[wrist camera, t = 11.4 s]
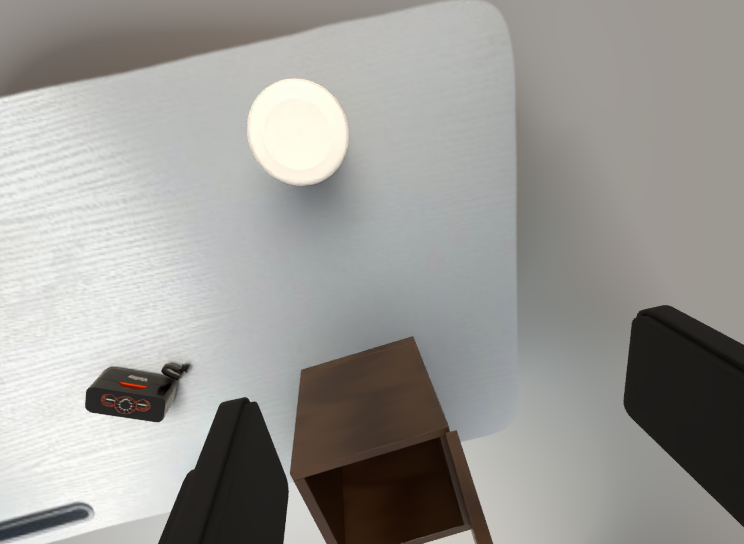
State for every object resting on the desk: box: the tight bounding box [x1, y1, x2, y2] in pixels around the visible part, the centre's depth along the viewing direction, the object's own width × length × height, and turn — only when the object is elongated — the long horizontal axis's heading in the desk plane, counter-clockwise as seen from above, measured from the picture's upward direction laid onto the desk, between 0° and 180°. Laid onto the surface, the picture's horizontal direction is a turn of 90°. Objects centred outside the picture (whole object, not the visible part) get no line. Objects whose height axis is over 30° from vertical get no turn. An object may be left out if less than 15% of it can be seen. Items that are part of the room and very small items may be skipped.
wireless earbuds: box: [85, 363, 189, 422], centre depth 33 cm, size 5×7×3 cm, turn 73°
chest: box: [290, 337, 471, 544], centre depth 33 cm, size 12×12×12 cm
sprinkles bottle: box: [247, 78, 349, 186], centre depth 22 cm, size 5×5×13 cm
